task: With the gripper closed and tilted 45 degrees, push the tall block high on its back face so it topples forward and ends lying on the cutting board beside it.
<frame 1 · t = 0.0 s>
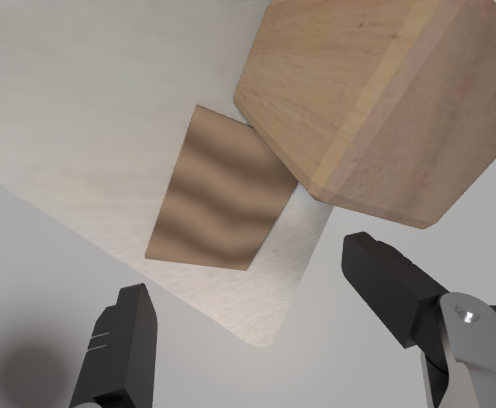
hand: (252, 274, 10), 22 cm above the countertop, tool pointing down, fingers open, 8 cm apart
block: (286, 74, 28), on the countertop
cutting board: (226, 204, 36), on the countertop
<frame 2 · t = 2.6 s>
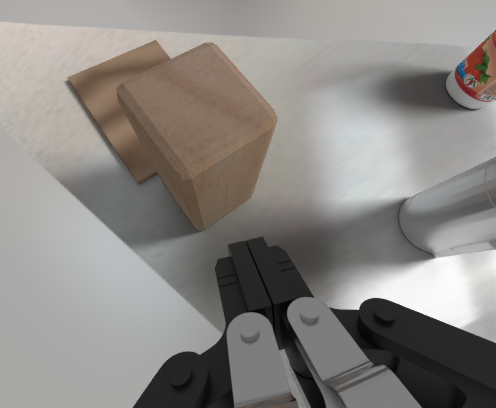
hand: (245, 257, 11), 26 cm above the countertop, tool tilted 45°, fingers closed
fruit juice: (465, 91, 51), on the countertop
block: (208, 190, 40), on the countertop
cutting board: (148, 107, 43), on the countertop
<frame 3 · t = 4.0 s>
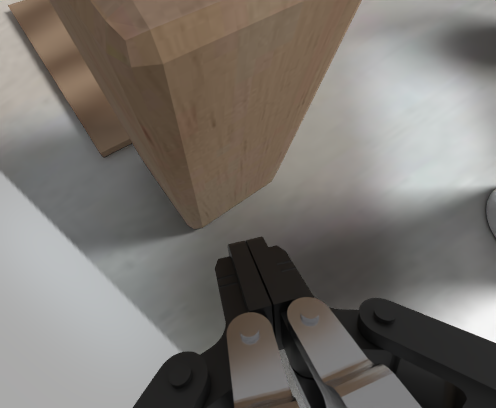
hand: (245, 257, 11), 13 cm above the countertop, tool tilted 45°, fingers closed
block: (209, 169, 27), on the countertop
cutting board: (124, 51, 30), on the countertop
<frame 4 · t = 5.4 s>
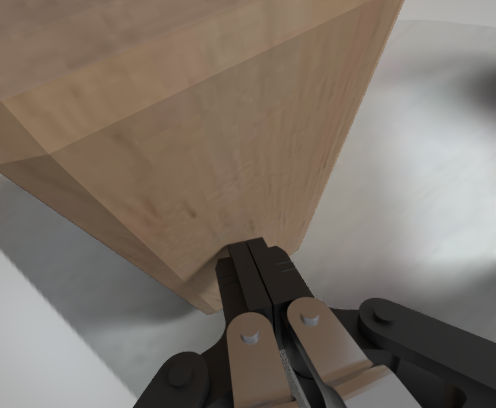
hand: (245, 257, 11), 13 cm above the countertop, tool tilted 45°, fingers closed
block: (225, 237, 24), point 1 cm above the countertop
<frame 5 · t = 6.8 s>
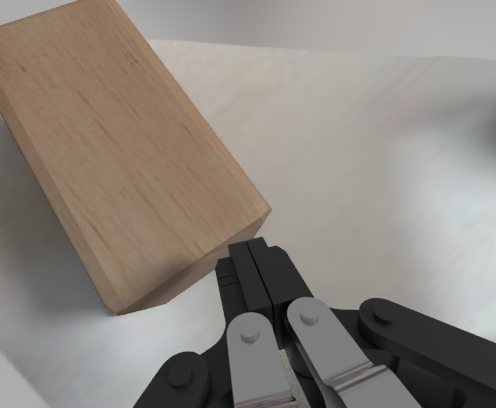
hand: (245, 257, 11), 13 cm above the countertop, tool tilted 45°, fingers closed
block: (208, 272, 18), point 6 cm above the countertop, touching cutting board
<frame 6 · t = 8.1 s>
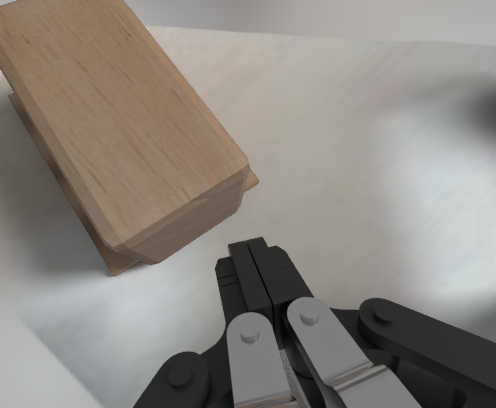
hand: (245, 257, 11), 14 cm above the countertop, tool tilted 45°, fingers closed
block: (197, 228, 19), point 6 cm above the countertop, touching cutting board
cutting board: (136, 142, 27), on the countertop
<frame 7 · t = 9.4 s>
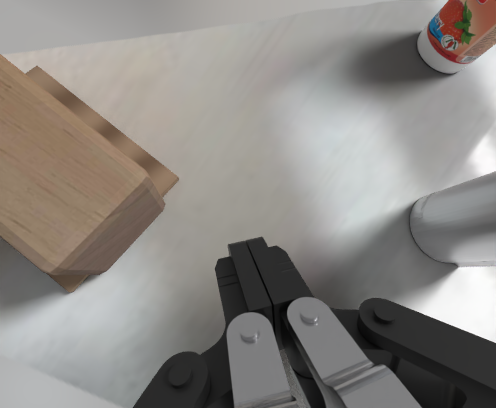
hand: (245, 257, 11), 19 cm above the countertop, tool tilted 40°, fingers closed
fruit juice: (439, 52, 44), on the countertop
block: (126, 235, 23), point 6 cm above the countertop, touching cutting board
cutting board: (55, 170, 29), on the countertop
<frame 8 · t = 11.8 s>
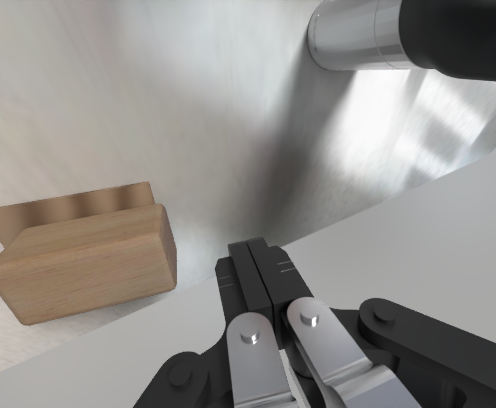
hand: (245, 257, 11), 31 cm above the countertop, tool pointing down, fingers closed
block: (172, 243, 39), point 6 cm above the countertop, touching cutting board
cutting board: (91, 239, 42), on the countertop
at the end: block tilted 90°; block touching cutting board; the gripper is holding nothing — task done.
